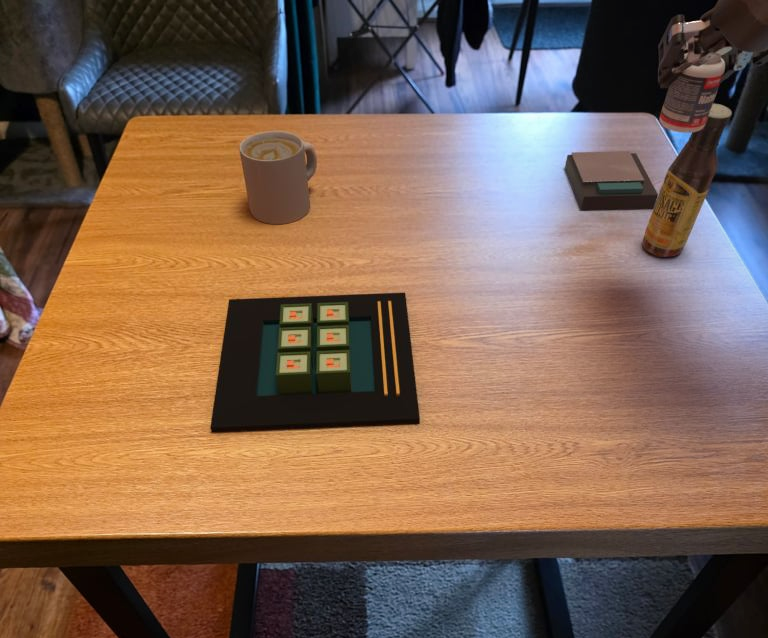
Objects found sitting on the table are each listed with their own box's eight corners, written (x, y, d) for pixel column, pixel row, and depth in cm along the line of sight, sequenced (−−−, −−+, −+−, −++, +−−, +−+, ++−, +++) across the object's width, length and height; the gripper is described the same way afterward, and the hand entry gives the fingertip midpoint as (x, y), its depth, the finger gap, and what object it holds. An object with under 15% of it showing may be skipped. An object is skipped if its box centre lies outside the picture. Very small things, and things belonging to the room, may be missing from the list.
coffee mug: (269, 231, 105) (259, 167, 97) (239, 205, 110) (227, 142, 102) (339, 204, 110) (334, 141, 102) (307, 180, 114) (301, 118, 106)
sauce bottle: (632, 242, 102) (677, 101, 86) (666, 233, 103) (717, 94, 87) (657, 264, 98) (709, 122, 82) (692, 255, 100) (750, 114, 84)
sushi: (419, 423, 79) (420, 401, 76) (211, 432, 79) (204, 410, 76) (405, 297, 94) (405, 274, 91) (230, 304, 94) (225, 281, 91)
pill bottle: (692, 138, 76) (723, 48, 68) (650, 125, 78) (676, 37, 70) (711, 122, 78) (743, 33, 71) (670, 110, 80) (697, 23, 73)
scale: (632, 167, 116) (637, 148, 114) (653, 208, 108) (659, 189, 105) (564, 168, 116) (568, 149, 113) (580, 210, 108) (585, 191, 105)
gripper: (863, -69, 59) (748, 39, 75) (707, -63, 58) (626, 45, 75) (861, 23, 60) (748, 110, 76) (707, 30, 59) (627, 116, 76)
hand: (688, 77), depth 75 cm, fingers closed on pill bottle, 5 cm apart
